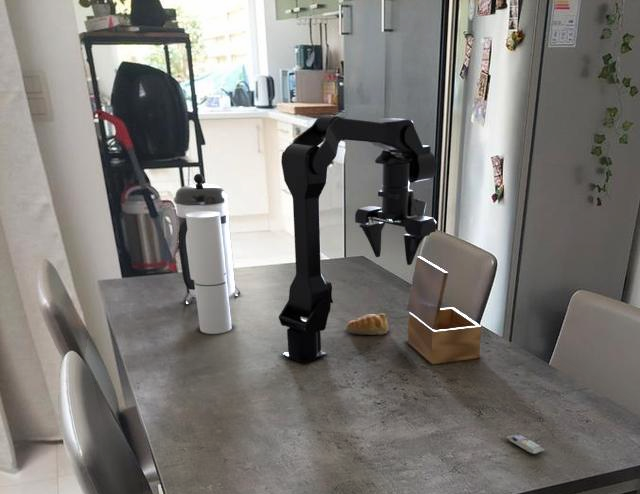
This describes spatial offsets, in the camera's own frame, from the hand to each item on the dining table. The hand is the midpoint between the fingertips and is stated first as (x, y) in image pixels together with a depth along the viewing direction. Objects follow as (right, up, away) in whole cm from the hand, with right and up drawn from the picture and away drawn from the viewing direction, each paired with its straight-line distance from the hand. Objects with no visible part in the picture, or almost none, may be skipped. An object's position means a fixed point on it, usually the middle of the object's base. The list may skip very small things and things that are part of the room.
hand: (393, 260), depth 155 cm
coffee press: (-46, -3, +24) cm, 52 cm away
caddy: (+10, -21, -6) cm, 24 cm away
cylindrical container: (-41, -14, +6) cm, 43 cm away
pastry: (-5, -15, +4) cm, 16 cm away
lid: (+6, -11, -14) cm, 19 cm away
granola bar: (+19, -44, -44) cm, 65 cm away
